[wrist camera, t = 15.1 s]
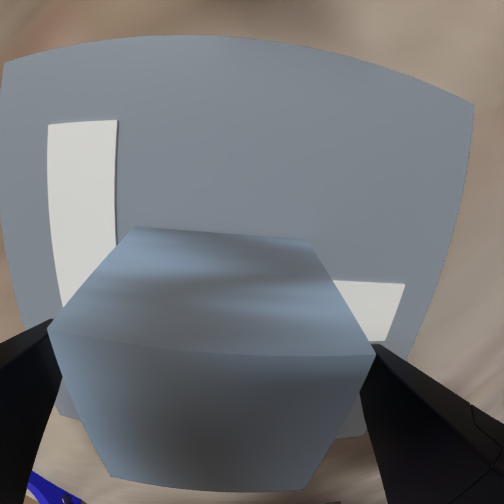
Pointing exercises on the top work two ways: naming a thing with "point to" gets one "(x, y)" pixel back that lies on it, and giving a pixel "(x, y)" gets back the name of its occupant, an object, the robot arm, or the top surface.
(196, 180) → the letter sheet
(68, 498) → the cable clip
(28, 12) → the top surface
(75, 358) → the blue cube
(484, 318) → the top surface
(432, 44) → the top surface
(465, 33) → the top surface
